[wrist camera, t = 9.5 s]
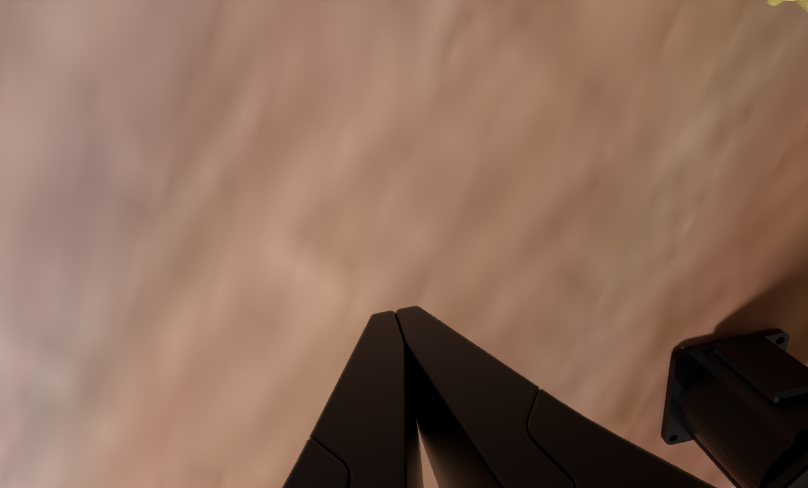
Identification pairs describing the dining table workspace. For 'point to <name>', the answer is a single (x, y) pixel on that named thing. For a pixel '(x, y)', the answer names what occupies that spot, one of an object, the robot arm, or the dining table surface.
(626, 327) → the dining table surface
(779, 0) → the plastic component
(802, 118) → the dining table surface
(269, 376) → the dining table surface
